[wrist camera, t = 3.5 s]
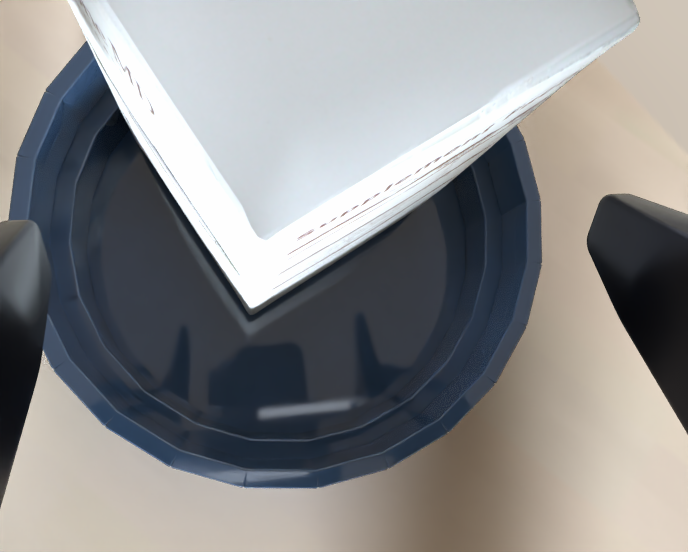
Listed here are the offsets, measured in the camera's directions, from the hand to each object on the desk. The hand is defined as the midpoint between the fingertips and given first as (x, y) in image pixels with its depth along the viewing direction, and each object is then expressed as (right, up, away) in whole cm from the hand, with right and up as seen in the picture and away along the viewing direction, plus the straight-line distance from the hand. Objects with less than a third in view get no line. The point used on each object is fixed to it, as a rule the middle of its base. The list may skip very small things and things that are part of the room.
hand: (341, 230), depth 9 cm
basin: (-2, +1, +11) cm, 11 cm away
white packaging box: (-2, +3, +11) cm, 12 cm away
